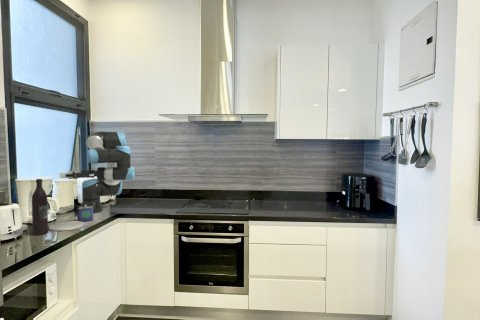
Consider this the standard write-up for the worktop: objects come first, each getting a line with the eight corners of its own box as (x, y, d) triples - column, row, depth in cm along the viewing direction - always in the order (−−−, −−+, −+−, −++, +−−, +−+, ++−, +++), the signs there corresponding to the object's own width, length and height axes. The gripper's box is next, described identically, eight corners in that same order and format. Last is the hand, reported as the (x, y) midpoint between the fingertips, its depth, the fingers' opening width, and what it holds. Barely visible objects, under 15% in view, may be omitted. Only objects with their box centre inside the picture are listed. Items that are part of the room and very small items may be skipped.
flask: (92, 219, 198) (92, 203, 198) (94, 220, 196) (93, 204, 196) (77, 222, 192) (76, 205, 191) (78, 223, 190) (78, 206, 189)
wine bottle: (39, 236, 162) (38, 180, 161) (29, 234, 164) (27, 179, 163) (51, 232, 169) (49, 178, 168) (41, 231, 171) (39, 178, 169)
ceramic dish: (56, 223, 188) (56, 221, 188) (87, 222, 191) (87, 220, 191) (43, 231, 170) (43, 229, 170) (78, 230, 174) (78, 228, 174)
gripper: (100, 182, 159) (55, 183, 155) (110, 178, 184) (71, 178, 179) (100, 168, 159) (55, 169, 154) (110, 165, 183) (71, 166, 179)
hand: (64, 174), depth 167 cm, fingers open, 13 cm apart
